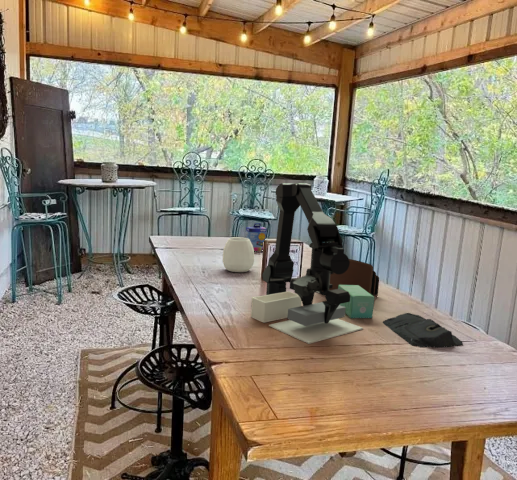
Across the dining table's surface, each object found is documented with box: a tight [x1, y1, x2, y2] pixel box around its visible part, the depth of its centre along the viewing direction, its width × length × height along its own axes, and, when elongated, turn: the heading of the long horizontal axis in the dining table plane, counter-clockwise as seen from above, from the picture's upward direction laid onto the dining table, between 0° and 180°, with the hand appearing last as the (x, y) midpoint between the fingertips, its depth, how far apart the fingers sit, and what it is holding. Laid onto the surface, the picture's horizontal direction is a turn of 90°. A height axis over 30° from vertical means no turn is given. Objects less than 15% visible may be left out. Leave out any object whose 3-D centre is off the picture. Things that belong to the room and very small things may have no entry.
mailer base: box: [250, 291, 302, 324], centre depth 152 cm, size 6×15×6 cm, turn 129°
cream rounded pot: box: [222, 236, 255, 273], centre depth 209 cm, size 13×13×14 cm
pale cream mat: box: [268, 318, 364, 345], centre depth 144 cm, size 16×22×1 cm
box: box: [338, 285, 375, 319], centre depth 160 cm, size 7×14×8 cm, turn 11°
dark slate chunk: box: [382, 312, 464, 349], centre depth 144 cm, size 15×22×5 cm
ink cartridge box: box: [245, 222, 268, 251], centre depth 255 cm, size 10×6×14 cm, turn 112°
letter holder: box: [329, 258, 380, 300], centre depth 181 cm, size 10×20×14 cm, turn 60°
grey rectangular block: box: [286, 301, 346, 326], centre depth 143 cm, size 7×16×3 cm, turn 129°
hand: (316, 319), depth 143 cm, fingers closed on grey rectangular block, 7 cm apart
